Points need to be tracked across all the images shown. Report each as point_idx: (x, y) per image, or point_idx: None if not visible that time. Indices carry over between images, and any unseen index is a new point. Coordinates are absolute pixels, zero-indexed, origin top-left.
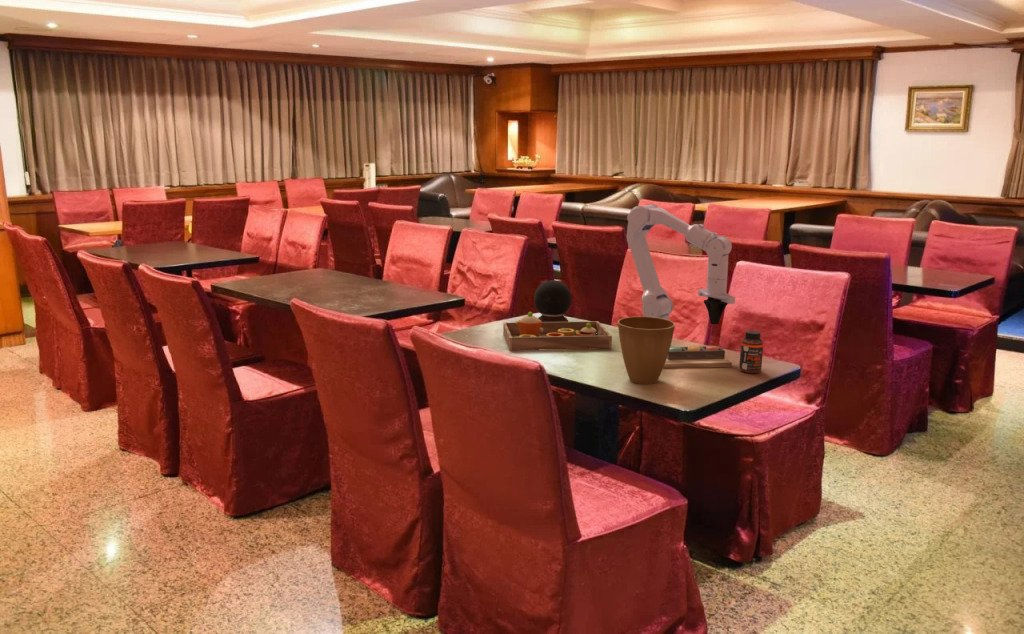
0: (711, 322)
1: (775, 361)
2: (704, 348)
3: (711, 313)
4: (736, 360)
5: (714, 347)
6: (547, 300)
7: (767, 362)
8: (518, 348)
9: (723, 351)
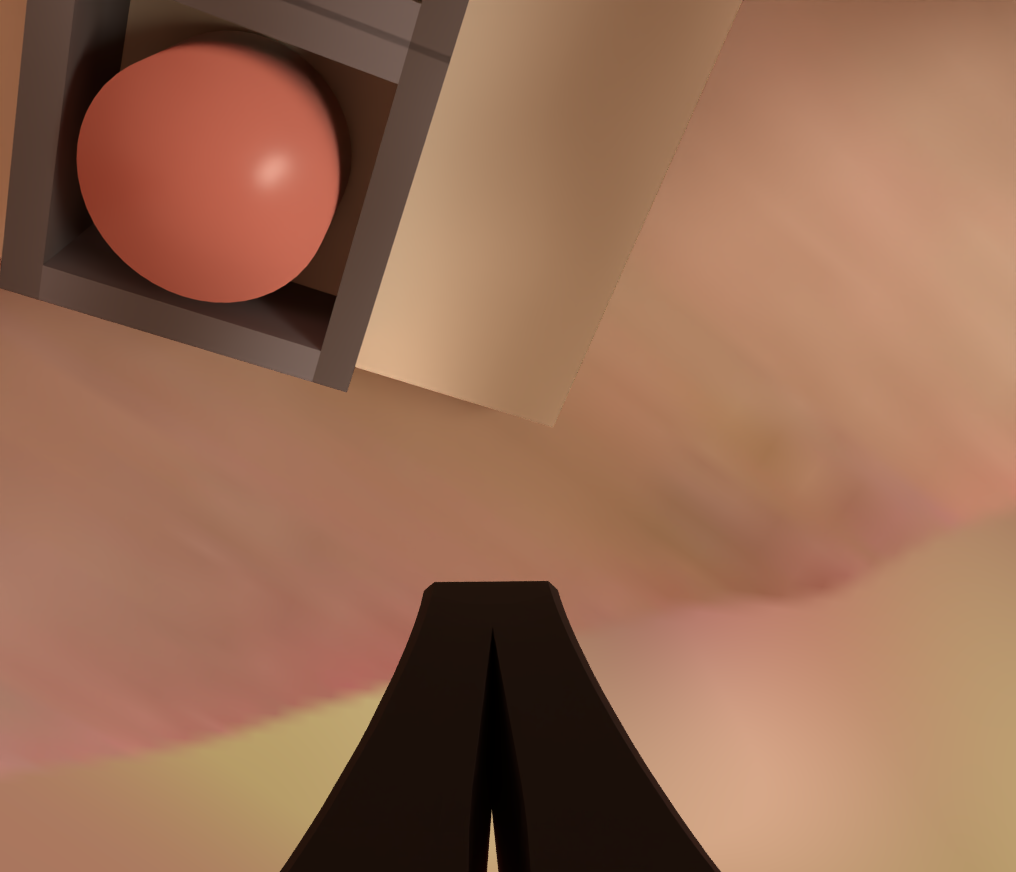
0: (490, 599)
1: (34, 762)
2: (272, 36)
3: (443, 810)
4: (179, 452)
5: (178, 212)
6: None
7: (8, 682)
8: None
9: (8, 260)
